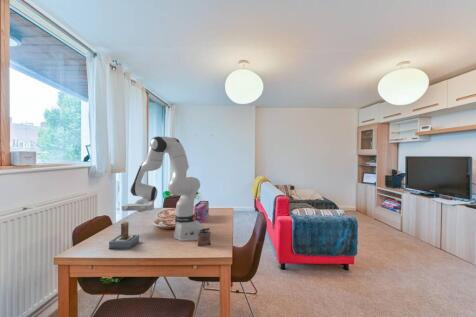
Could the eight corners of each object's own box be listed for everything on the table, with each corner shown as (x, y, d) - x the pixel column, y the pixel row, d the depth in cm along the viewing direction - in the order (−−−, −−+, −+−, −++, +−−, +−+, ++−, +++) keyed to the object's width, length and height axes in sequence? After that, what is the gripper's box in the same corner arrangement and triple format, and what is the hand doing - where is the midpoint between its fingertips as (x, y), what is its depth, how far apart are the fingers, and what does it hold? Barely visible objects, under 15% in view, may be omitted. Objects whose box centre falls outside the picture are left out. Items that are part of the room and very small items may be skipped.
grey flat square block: (139, 241, 144) (139, 234, 144) (130, 249, 132) (130, 241, 132) (119, 241, 144) (119, 234, 144) (109, 248, 132) (109, 241, 132)
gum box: (203, 223, 184) (203, 206, 183) (193, 223, 184) (193, 206, 184) (208, 216, 207) (208, 200, 207) (200, 215, 208) (200, 200, 208)
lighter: (198, 246, 137) (198, 229, 136) (196, 244, 140) (197, 228, 140) (211, 244, 140) (211, 228, 140) (209, 243, 143) (209, 226, 143)
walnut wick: (128, 241, 140) (128, 221, 140) (125, 244, 136) (125, 223, 136) (124, 241, 140) (124, 221, 140) (121, 244, 136) (121, 223, 136)
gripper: (126, 201, 164) (117, 205, 151) (155, 200, 165) (148, 204, 151) (127, 210, 164) (117, 214, 151) (156, 209, 165) (148, 214, 151)
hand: (133, 209), depth 151 cm, fingers open, 8 cm apart
